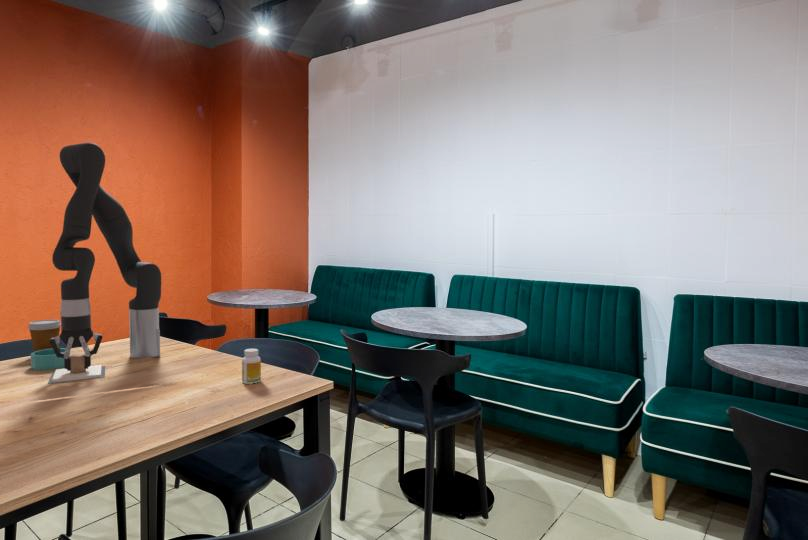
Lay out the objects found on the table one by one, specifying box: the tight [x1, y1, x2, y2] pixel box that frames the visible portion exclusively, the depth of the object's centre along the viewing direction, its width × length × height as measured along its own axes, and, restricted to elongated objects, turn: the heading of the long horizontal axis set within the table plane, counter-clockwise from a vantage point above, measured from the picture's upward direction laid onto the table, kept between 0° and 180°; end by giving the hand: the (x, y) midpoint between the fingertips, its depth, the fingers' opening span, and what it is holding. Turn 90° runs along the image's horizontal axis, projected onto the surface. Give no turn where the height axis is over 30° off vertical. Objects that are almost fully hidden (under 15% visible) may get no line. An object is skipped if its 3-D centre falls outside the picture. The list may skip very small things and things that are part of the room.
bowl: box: [30, 347, 71, 371], centre depth 159 cm, size 10×10×5 cm
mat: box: [47, 365, 106, 385], centre depth 151 cm, size 14×14×1 cm
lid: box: [52, 353, 103, 383], centre depth 151 cm, size 12×12×6 cm
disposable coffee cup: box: [27, 319, 61, 352], centre depth 173 cm, size 10×10×12 cm
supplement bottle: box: [241, 348, 262, 385], centre depth 148 cm, size 5×5×10 cm
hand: (77, 368), depth 151 cm, fingers closed on lid, 4 cm apart
